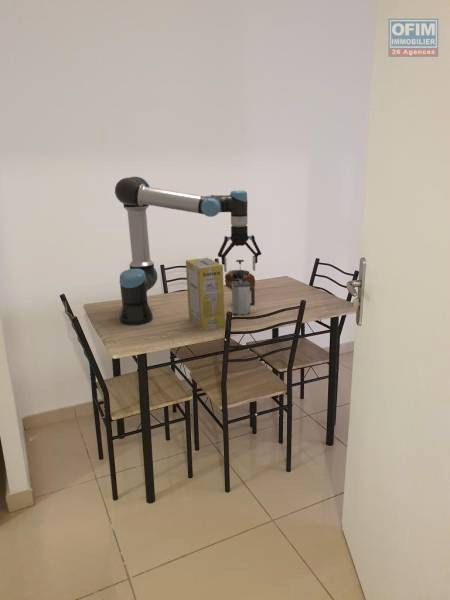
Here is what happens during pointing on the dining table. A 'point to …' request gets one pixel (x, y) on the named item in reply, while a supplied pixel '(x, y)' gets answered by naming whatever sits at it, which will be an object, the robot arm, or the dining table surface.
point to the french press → (237, 270)
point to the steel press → (242, 298)
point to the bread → (229, 279)
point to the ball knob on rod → (240, 275)
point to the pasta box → (205, 293)
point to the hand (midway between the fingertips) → (239, 270)
